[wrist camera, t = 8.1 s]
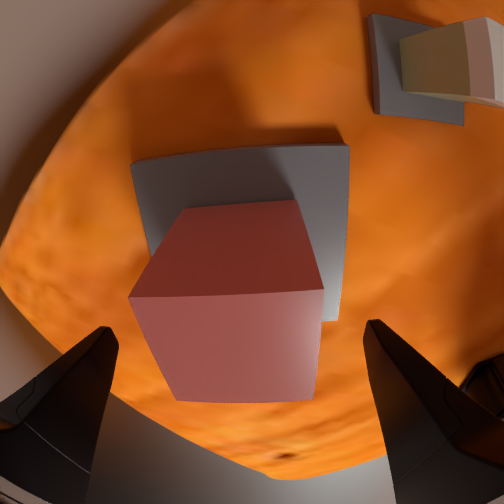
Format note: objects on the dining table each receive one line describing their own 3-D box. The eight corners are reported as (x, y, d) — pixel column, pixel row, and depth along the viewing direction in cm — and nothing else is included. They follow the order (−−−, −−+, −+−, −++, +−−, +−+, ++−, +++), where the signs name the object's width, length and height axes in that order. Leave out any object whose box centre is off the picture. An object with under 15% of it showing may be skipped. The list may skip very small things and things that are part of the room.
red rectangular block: (298, 293, 15) (313, 399, 10) (202, 298, 16) (176, 400, 10) (296, 199, 13) (324, 289, 7) (183, 208, 13) (127, 297, 7)
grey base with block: (455, 123, 11) (553, 157, 5) (373, 113, 11) (465, 134, 5) (450, 37, 9) (546, 28, 3) (366, 17, 9) (445, -32, 3)
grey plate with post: (335, 311, 17) (359, 408, 11) (176, 317, 18) (146, 410, 12) (344, 143, 12) (416, 187, 6) (136, 160, 13) (49, 216, 7)
